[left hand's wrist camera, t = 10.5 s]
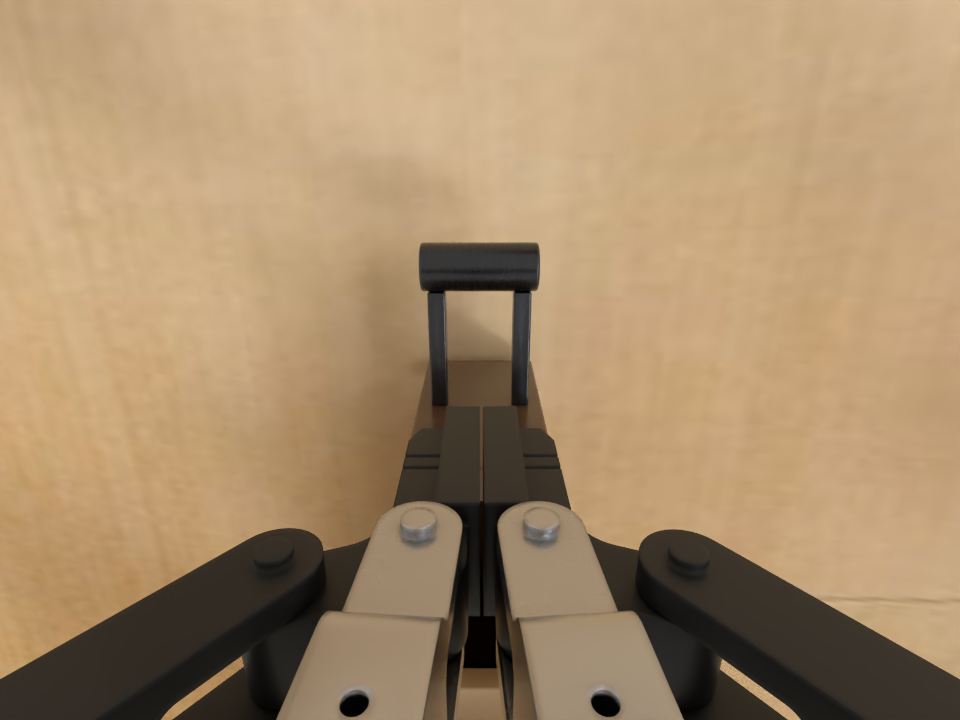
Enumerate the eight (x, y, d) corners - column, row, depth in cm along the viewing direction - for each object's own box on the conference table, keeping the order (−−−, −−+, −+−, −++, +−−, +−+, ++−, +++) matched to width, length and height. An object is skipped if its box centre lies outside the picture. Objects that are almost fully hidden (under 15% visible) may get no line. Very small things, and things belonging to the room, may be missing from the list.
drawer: (423, 225, 23) (391, 272, 14) (535, 224, 23) (566, 272, 14) (440, 669, 31) (425, 854, 23) (520, 669, 31) (535, 854, 23)
